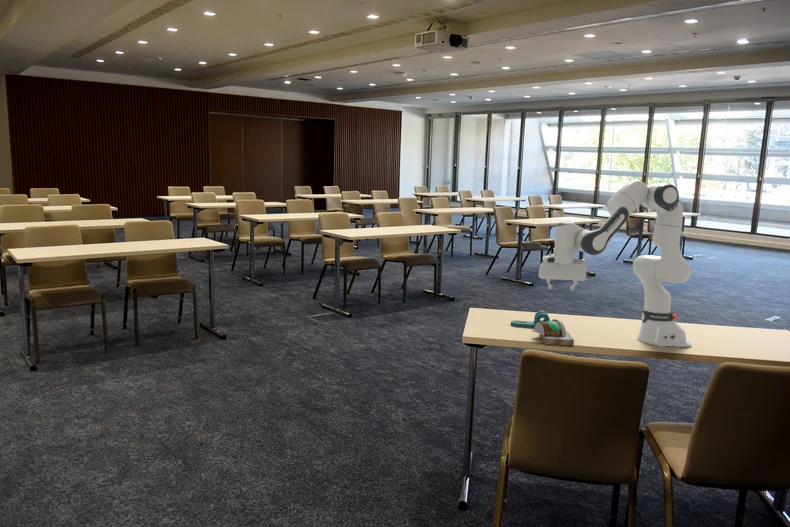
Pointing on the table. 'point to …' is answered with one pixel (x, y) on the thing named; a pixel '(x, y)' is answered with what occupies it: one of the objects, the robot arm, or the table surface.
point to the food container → (550, 328)
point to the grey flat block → (559, 340)
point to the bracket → (529, 323)
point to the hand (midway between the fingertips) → (561, 289)
